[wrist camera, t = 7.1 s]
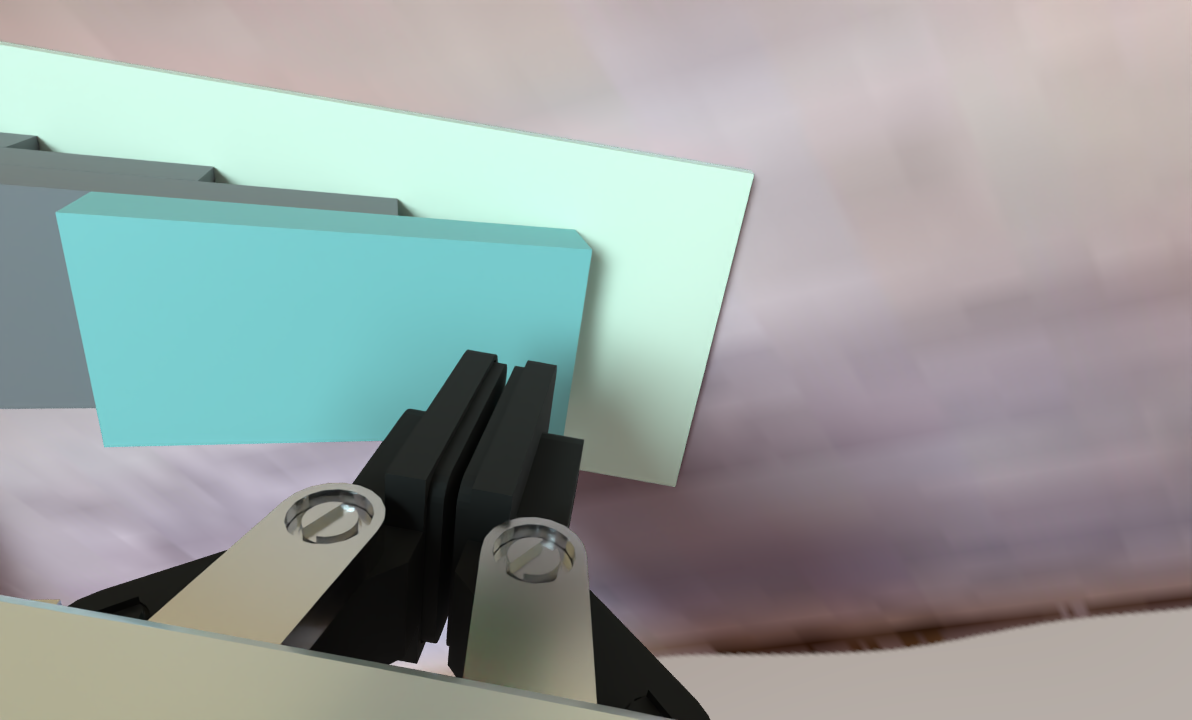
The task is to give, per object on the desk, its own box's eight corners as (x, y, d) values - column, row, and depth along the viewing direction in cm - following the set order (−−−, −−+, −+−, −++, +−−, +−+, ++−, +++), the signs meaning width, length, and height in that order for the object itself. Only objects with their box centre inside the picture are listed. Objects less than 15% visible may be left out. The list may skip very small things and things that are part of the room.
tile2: (397, 215, 15) (-187, 169, 12) (393, 405, 17) (-101, 409, 14) (397, 198, 16) (-126, 152, 13) (393, 376, 18) (-56, 373, 15)
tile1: (592, 249, 15) (55, 212, 11) (563, 436, 17) (104, 446, 14) (575, 229, 16) (90, 191, 13) (550, 404, 18) (130, 407, 15)
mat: (750, 170, 16) (753, 174, 15) (674, 475, 19) (675, 487, 19) (-372, -23, 16) (-408, -26, 15) (-228, 313, 20) (-253, 321, 19)
